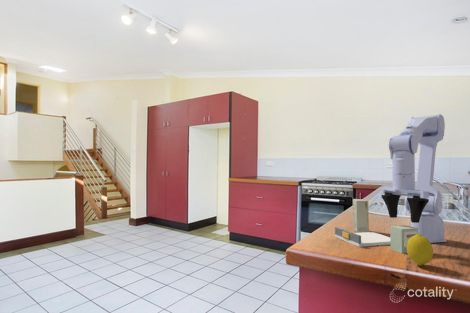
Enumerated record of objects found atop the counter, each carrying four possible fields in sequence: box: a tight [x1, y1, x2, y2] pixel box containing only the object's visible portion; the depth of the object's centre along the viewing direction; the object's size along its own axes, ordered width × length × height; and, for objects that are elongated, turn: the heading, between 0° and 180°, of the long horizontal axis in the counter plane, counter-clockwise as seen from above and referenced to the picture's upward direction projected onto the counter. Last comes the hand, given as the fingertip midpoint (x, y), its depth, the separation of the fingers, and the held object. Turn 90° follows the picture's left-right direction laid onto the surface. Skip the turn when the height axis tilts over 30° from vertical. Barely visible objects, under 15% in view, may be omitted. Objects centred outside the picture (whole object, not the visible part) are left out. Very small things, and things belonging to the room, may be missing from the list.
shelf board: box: [334, 226, 390, 248], centre depth 91 cm, size 16×12×3 cm
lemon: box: [406, 234, 434, 267], centre depth 68 cm, size 6×6×8 cm
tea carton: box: [389, 224, 418, 254], centre depth 80 cm, size 4×6×7 cm
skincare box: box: [352, 198, 370, 233], centre depth 104 cm, size 6×4×12 cm
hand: (403, 219), depth 80 cm, fingers open, 7 cm apart
